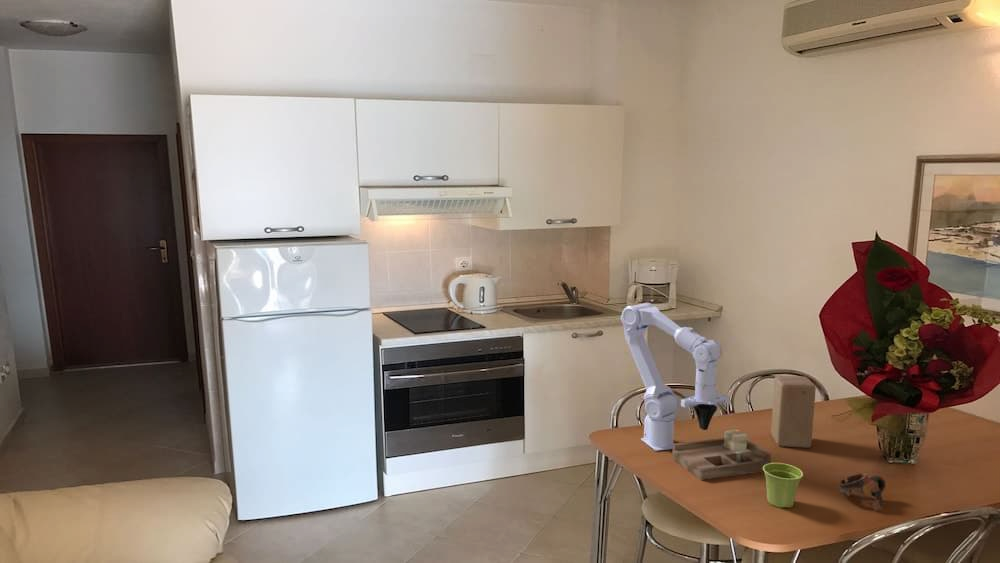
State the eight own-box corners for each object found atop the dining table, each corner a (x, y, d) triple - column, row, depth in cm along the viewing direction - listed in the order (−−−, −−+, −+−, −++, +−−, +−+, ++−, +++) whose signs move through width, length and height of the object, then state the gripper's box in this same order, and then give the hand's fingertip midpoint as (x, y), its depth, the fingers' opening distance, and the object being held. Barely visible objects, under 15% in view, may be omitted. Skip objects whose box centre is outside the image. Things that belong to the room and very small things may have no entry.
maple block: (723, 445, 204) (724, 431, 203) (736, 443, 205) (737, 429, 205) (733, 451, 200) (734, 436, 199) (746, 449, 201) (747, 434, 200)
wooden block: (812, 449, 209) (816, 385, 206) (777, 447, 211) (781, 383, 208) (803, 436, 219) (807, 375, 216) (769, 435, 220) (773, 374, 217)
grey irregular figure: (870, 517, 169) (854, 485, 170) (842, 517, 177) (826, 486, 179) (902, 496, 173) (886, 464, 175) (873, 496, 182) (858, 467, 183)
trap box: (672, 458, 202) (672, 442, 201) (737, 450, 208) (738, 434, 207) (701, 480, 188) (702, 462, 187) (769, 470, 194) (771, 453, 193)
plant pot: (806, 502, 175) (808, 469, 174) (792, 515, 168) (795, 482, 167) (769, 491, 182) (771, 459, 180) (755, 503, 175) (757, 471, 173)
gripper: (691, 389, 192) (689, 436, 194) (736, 385, 196) (733, 430, 198) (677, 382, 199) (675, 427, 201) (721, 378, 203) (719, 422, 205)
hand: (703, 428), depth 200 cm, fingers closed
